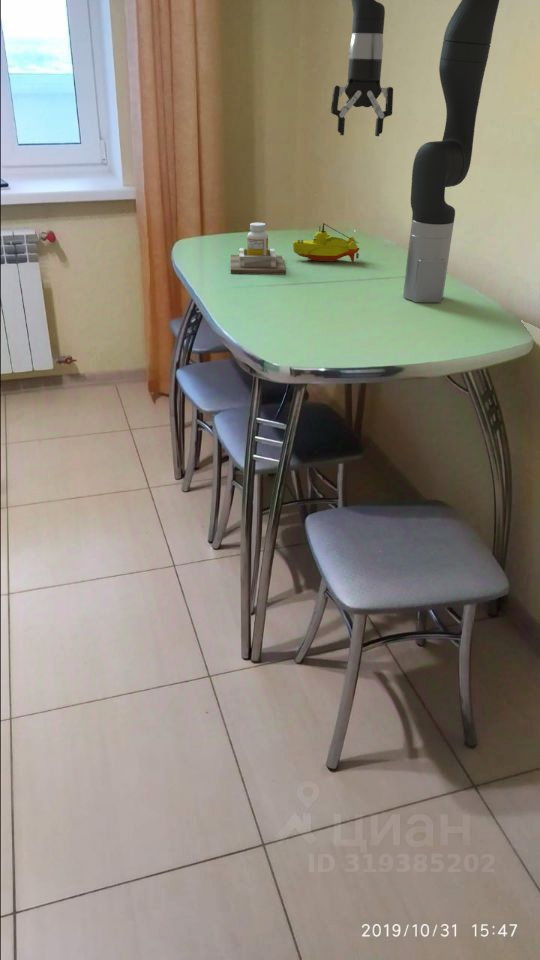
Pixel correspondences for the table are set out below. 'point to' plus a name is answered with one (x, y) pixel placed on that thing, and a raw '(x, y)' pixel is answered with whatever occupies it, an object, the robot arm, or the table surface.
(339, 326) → the table surface
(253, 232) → the supplement bottle
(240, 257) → the jig board
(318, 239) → the toy boat
